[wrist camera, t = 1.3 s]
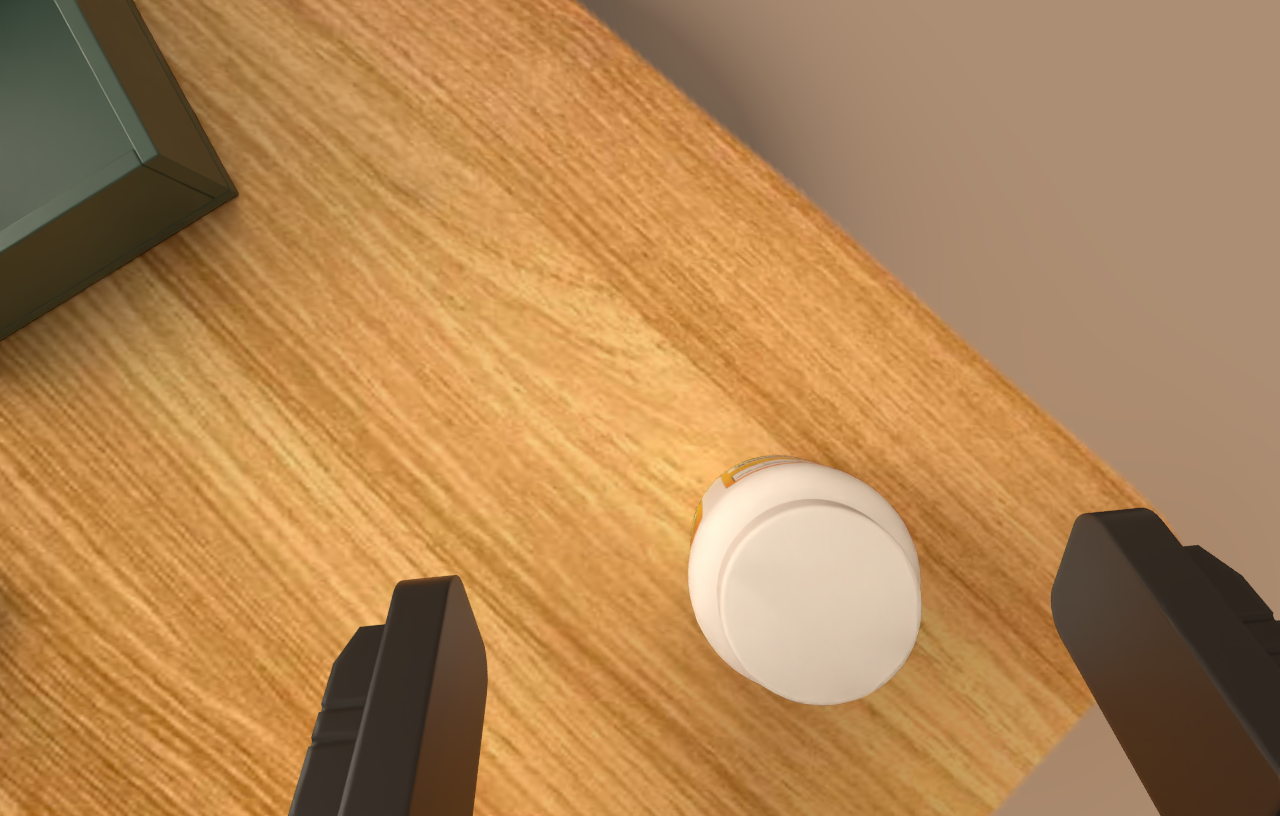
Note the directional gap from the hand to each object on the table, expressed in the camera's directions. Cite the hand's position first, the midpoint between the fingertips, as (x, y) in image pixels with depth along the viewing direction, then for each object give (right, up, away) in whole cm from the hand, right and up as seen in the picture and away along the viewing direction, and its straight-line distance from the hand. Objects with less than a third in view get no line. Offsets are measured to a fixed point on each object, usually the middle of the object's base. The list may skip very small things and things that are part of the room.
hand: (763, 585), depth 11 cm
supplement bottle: (+3, -2, +15) cm, 15 cm away
